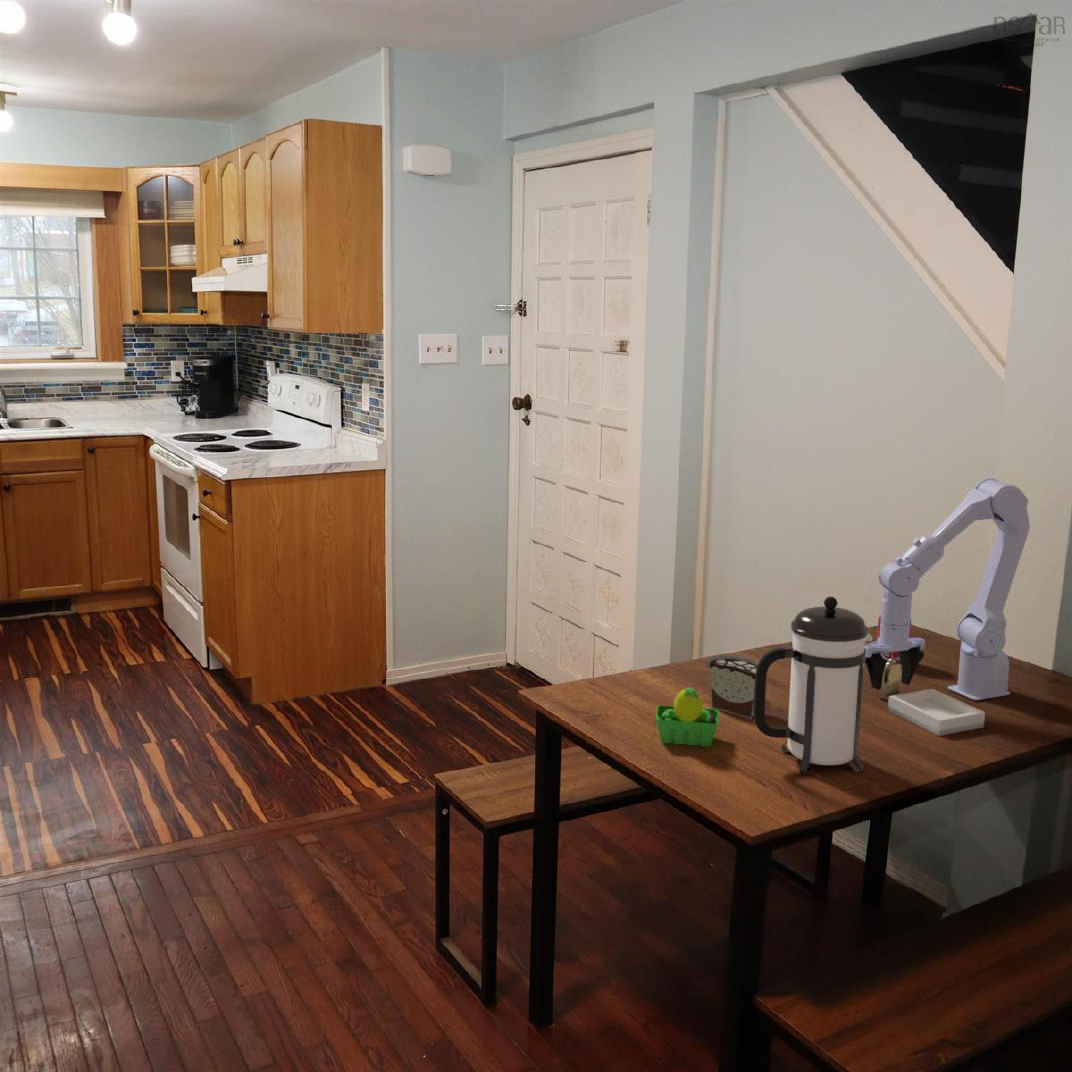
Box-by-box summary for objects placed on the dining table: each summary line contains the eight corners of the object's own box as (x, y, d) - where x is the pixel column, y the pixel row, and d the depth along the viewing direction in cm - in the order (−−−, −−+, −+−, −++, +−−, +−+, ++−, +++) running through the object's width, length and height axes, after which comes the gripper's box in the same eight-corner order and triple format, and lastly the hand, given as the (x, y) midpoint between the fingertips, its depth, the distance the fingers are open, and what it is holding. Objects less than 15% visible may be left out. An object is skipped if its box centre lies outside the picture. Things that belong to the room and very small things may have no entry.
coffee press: (800, 736, 204) (809, 580, 198) (880, 760, 193) (892, 596, 187) (748, 764, 192) (756, 598, 186) (831, 791, 181) (842, 617, 175)
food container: (775, 712, 216) (777, 664, 214) (758, 721, 211) (760, 672, 209) (722, 697, 224) (724, 650, 222) (705, 705, 220) (706, 657, 218)
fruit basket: (718, 734, 205) (720, 676, 203) (717, 753, 197) (719, 693, 194) (657, 730, 207) (658, 673, 205) (653, 748, 199) (655, 689, 196)
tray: (931, 702, 221) (932, 688, 220) (983, 727, 208) (985, 712, 208) (887, 710, 217) (888, 696, 216) (938, 735, 204) (939, 720, 204)
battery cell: (891, 690, 228) (893, 655, 227) (904, 696, 225) (907, 661, 223) (875, 692, 227) (878, 657, 225) (888, 699, 223) (891, 663, 221)
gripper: (910, 613, 229) (905, 675, 232) (853, 620, 223) (849, 684, 226) (934, 622, 222) (929, 685, 225) (876, 630, 217) (872, 695, 220)
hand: (890, 685), depth 225 cm, fingers open, 7 cm apart
